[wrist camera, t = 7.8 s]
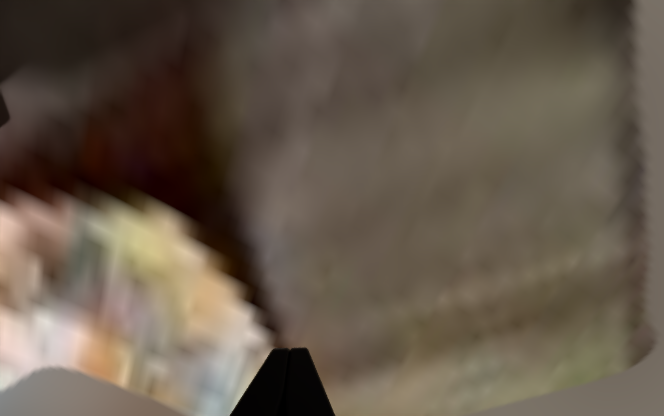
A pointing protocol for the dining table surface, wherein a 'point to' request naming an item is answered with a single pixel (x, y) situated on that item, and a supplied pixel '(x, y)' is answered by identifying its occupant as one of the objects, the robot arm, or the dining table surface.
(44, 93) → the dining table surface
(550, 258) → the dining table surface
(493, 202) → the dining table surface
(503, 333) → the dining table surface
